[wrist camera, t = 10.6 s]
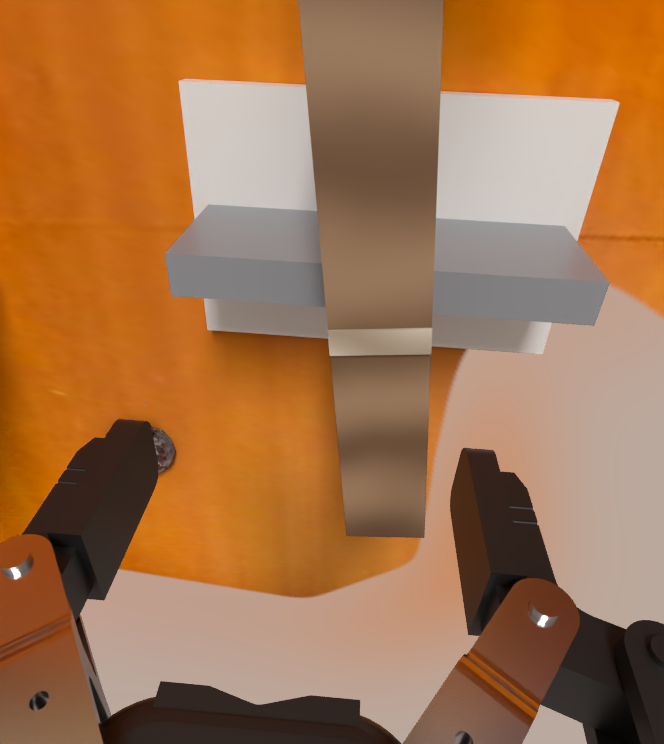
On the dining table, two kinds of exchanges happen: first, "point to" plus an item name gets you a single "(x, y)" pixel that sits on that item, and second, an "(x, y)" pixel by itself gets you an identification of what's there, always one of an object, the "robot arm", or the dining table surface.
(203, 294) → the stand
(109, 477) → the robot arm
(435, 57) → the walnut beam
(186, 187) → the dining table surface
